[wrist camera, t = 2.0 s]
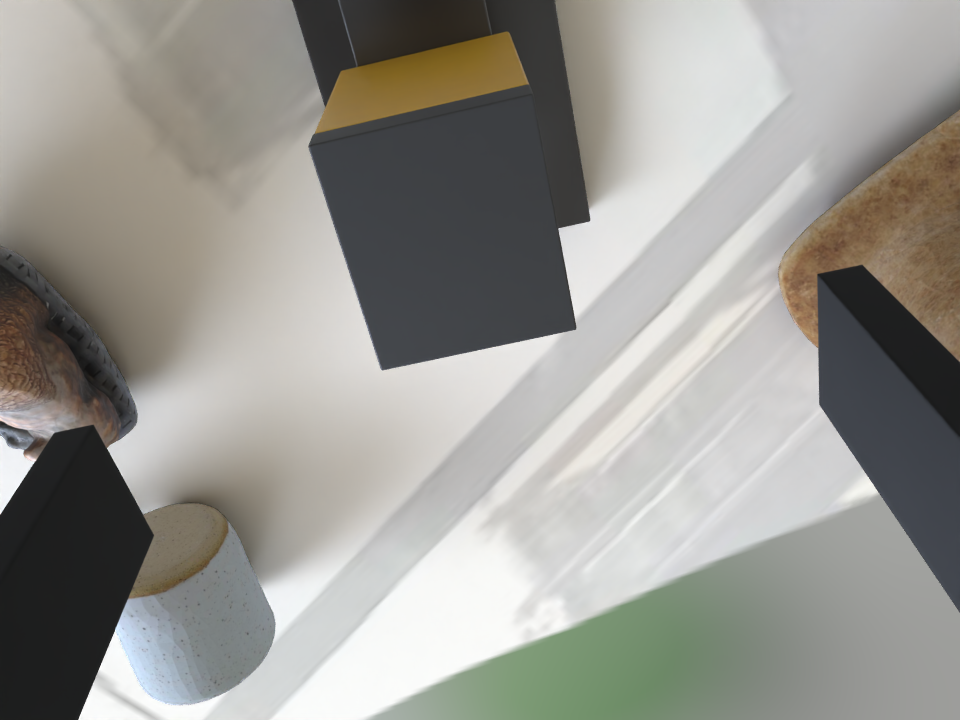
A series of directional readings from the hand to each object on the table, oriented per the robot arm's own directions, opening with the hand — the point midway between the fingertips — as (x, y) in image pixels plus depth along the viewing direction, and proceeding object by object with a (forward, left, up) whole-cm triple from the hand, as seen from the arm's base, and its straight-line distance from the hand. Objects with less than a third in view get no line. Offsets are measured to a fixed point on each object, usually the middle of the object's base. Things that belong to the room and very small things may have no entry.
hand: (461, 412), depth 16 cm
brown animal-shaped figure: (-18, -14, -25) cm, 34 cm away
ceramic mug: (-12, -28, -25) cm, 39 cm away
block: (0, 0, -16) cm, 16 cm away
